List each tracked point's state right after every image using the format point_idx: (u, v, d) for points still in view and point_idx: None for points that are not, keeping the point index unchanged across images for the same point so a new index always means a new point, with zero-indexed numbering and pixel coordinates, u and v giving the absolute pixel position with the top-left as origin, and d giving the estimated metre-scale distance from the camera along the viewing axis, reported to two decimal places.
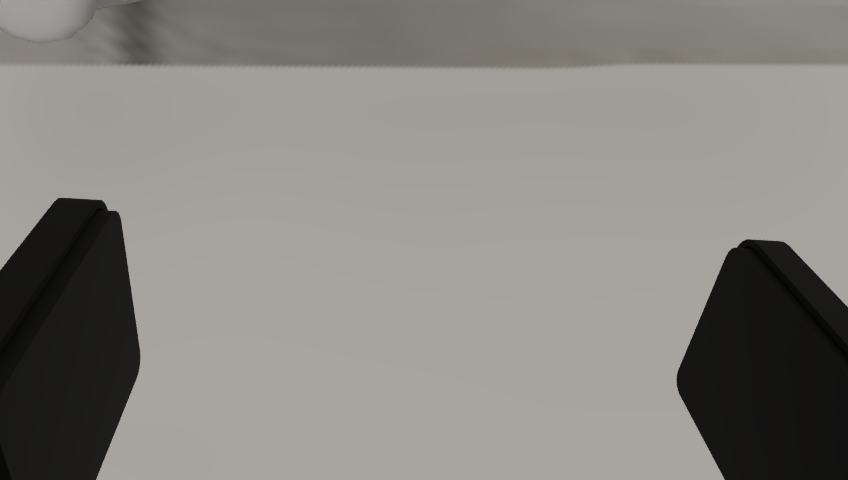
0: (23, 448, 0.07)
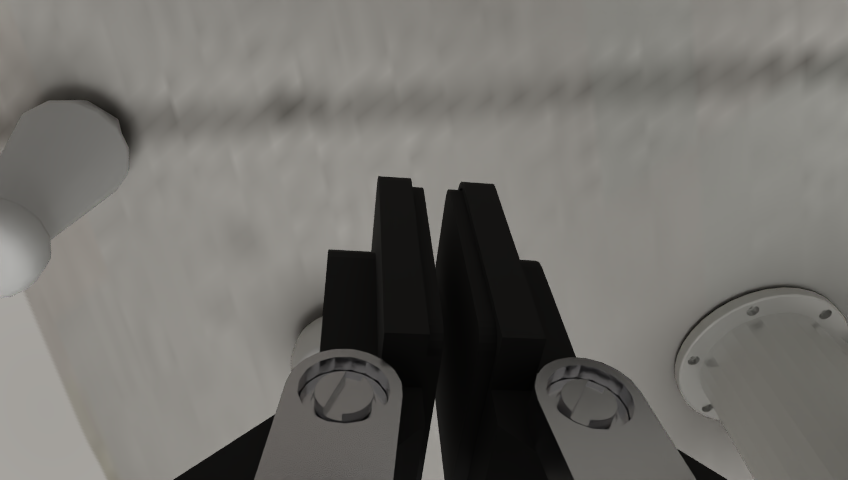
0: None
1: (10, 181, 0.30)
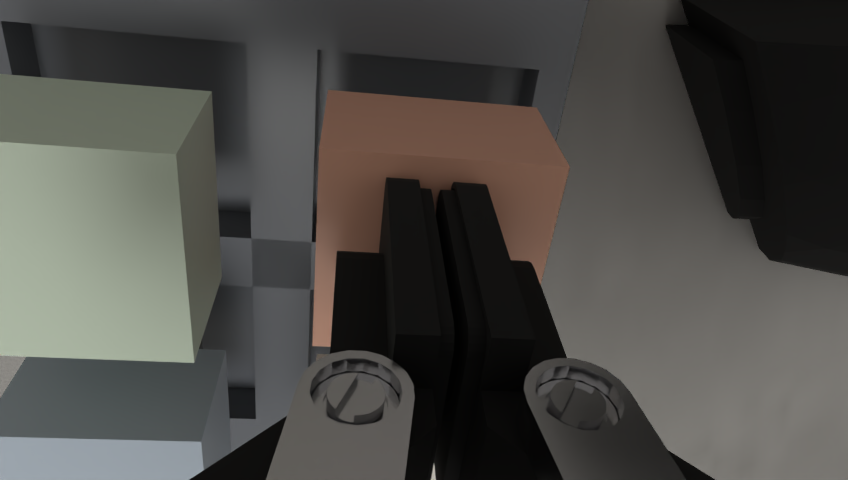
0: None
1: None
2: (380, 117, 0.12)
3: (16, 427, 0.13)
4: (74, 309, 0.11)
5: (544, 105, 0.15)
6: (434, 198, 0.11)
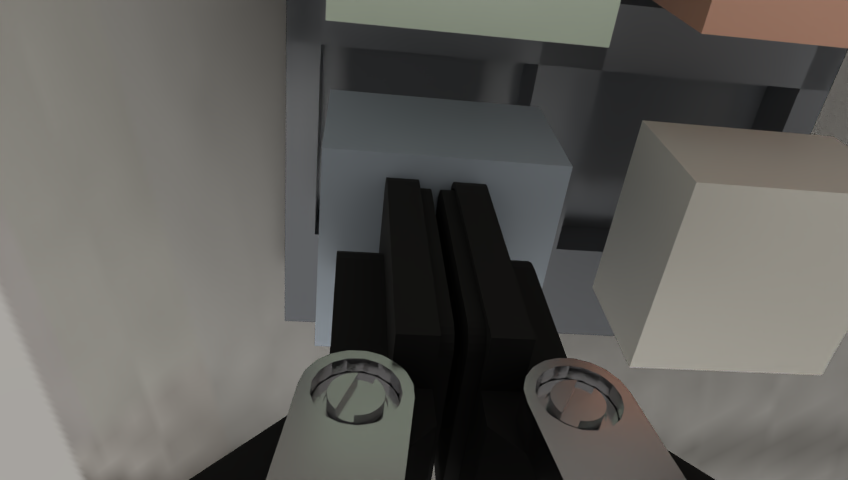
0: None
1: None
2: None
3: (359, 145, 0.11)
4: None
5: None
6: None
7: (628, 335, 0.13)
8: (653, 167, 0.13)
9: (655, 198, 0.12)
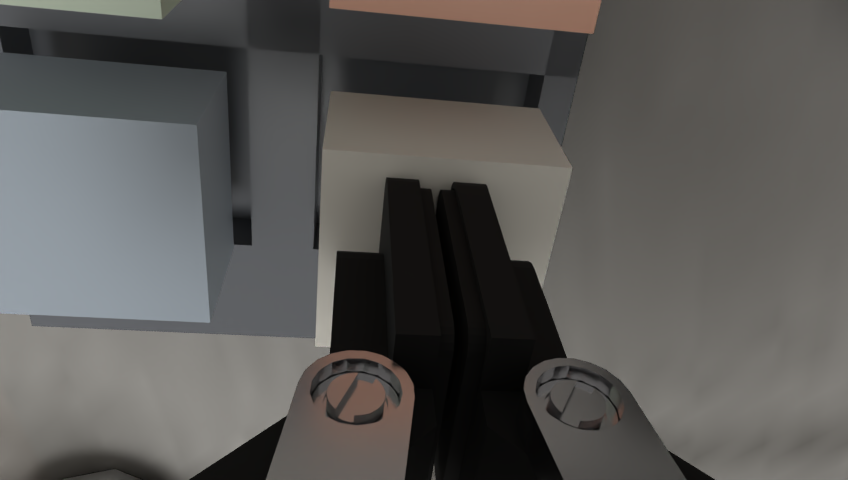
0: None
1: None
2: None
3: None
4: None
5: None
6: None
7: None
8: None
9: None
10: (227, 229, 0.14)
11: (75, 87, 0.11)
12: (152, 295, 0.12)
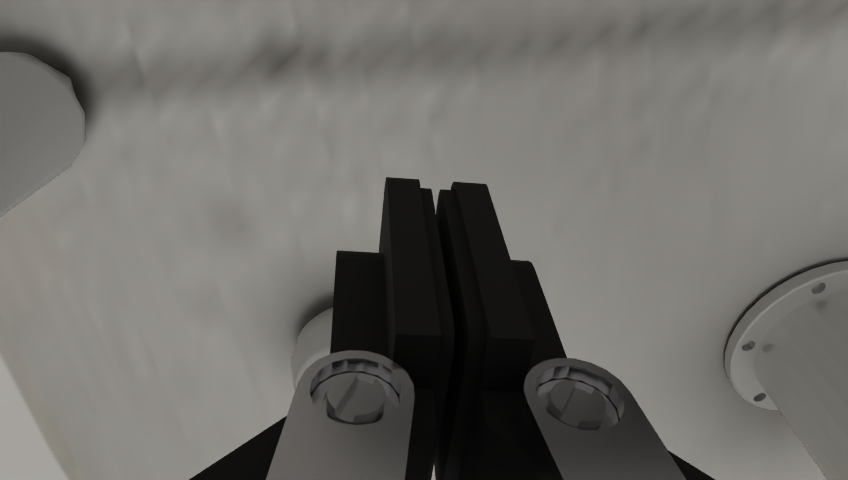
0: None
1: None
2: None
3: None
4: None
5: None
6: None
7: None
8: None
9: None
10: None
11: None
12: None
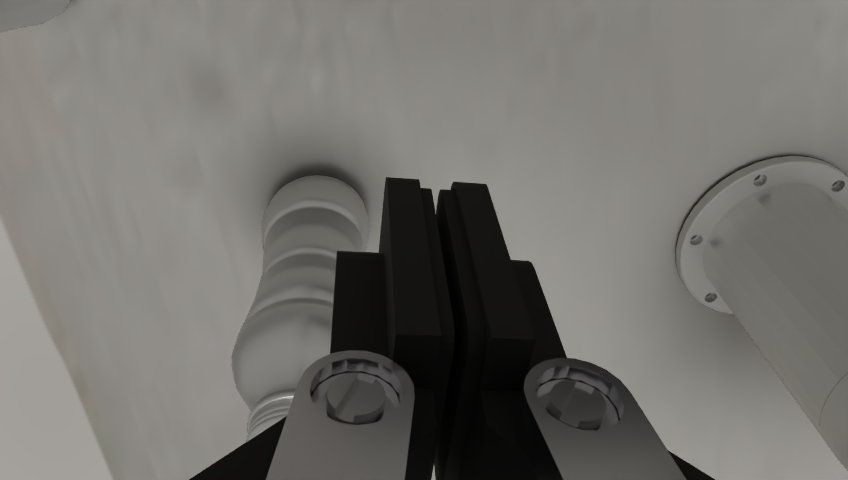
0: None
1: None
2: None
3: None
4: None
5: None
6: None
7: None
8: None
9: None
10: None
11: None
12: None
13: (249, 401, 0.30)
